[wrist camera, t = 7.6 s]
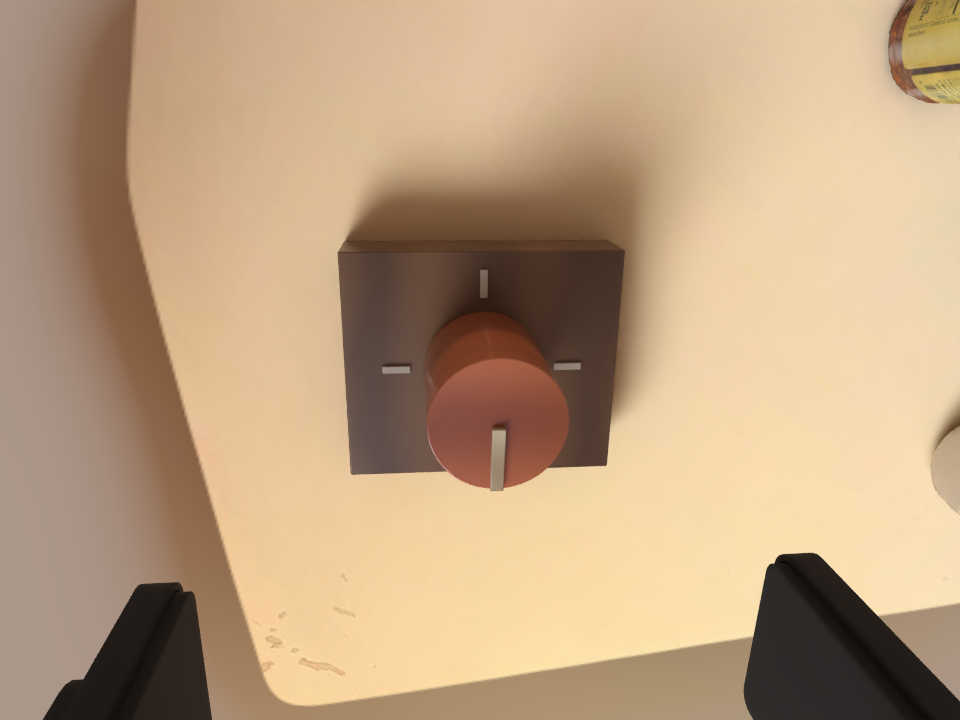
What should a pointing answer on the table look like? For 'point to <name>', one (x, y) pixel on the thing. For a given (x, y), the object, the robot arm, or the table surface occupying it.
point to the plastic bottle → (948, 469)
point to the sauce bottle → (927, 50)
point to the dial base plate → (459, 291)
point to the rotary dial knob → (492, 402)
